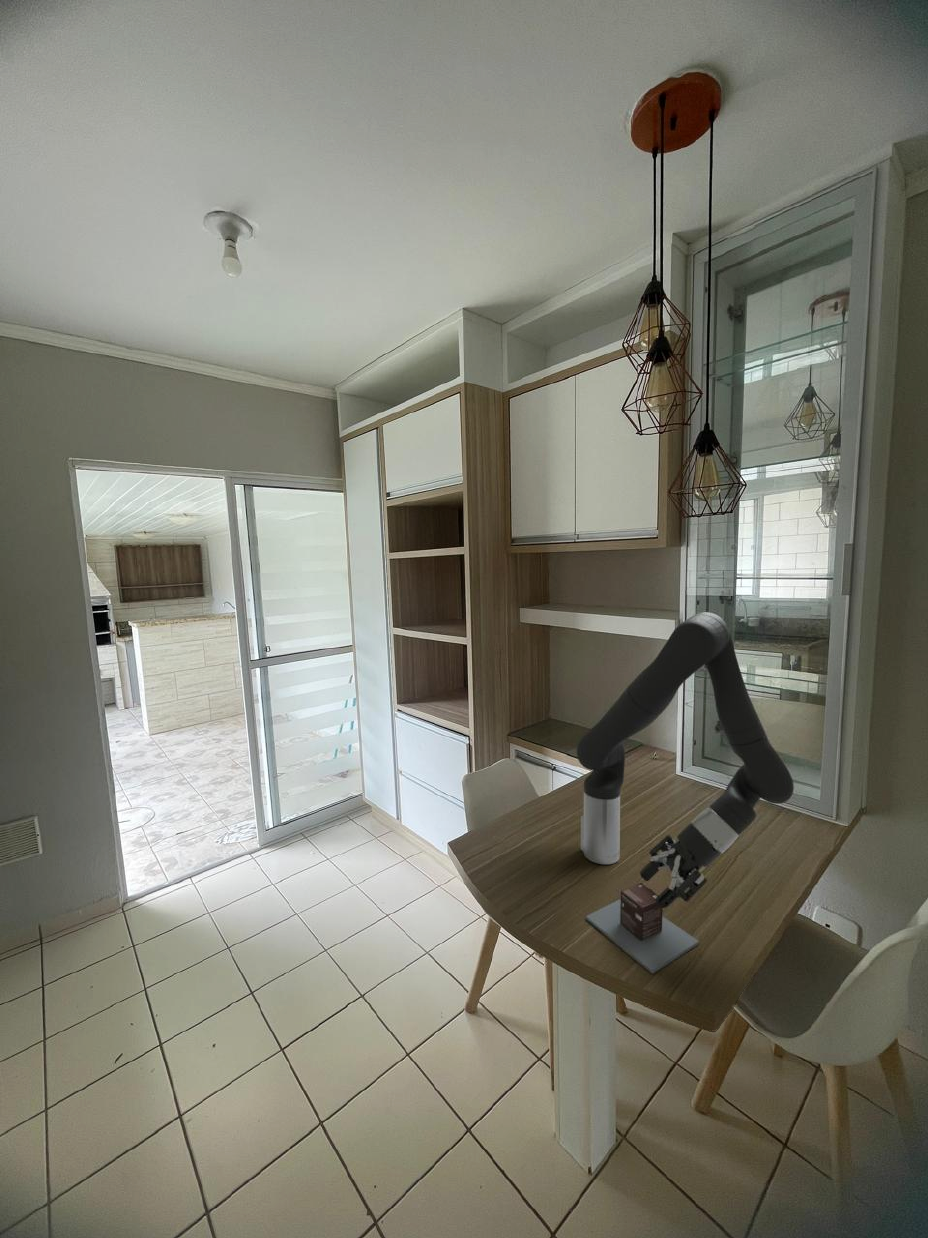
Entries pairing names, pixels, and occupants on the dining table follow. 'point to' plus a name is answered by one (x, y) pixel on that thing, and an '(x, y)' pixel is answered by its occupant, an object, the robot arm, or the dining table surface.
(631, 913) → the box
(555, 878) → the dining table surface
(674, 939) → the mat
